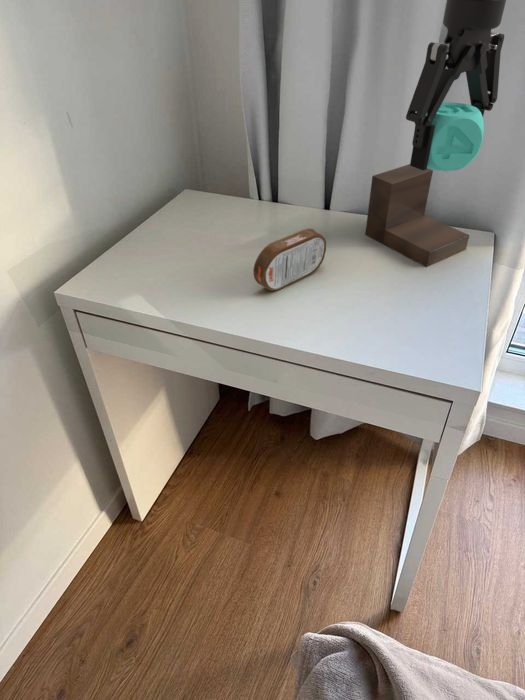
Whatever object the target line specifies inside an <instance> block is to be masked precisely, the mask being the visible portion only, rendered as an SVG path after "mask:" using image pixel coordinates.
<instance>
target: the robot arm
mask: <svg viewBox="0 0 525 700" xmlns="http://www.w3.org/2000/svg"><path fill="white" fill-rule="evenodd" d="M506 3H507V0H446V3H445V8H444V15H443V19H442V24H443V26H444V27H445V28H446V29H447V32H446V36H445V38H444V40H443V42H440V43H439V42H433V41H431V42H429V43H428V45H427V49H426V56H425V61H424V64H423V67H422V70H421V73H420V76H419V78H418V81H417V84H416V87H415V89H414V93H413V95H412V98H411V101H410V103H409V106H408V109H407V112H406V115H405V119H406V120H407V121H409V122H412V123H414V130H413V131H414V132H413V136H412V142H411V143H412V151H411V157H410V162H409V164H410V166H413V167H415V168H418V169H421V170H426V169H427V164H428V159H429V154H430V149H431V144H432V138H433V133H434V128H435V125H433V124H431V123H432V121H433V119H434V117H435V115H436V113H437V112H438V110H439V108H440V106H441V104H442V103H444V100H445V99H446V96H447V95H448V93H449V91H450V89H451V87H452V85H453V84H454V82H455V81H457V80H458V79H459V78H460V76H461V75H462V74H464V73H465V76H466V82H467V88H468V95H469V101H470V105H471V106H474V107H476V108H478V109H479V111H480V112H481V114H482V117H483V118H484V114H485V111H487V112H490V111H492V110H493V108H494V104H496V102H497V100H498V94H499V93H498V92H499V79H500V66H501V65H500V64H501V55H502V54H501V52H502V48H503V44H504V41H505V34H504V33H500V32H492V30H493V29H496V28H498V27H499V26H500V25H501V23H502V19H503V15H504V11H505V6H506ZM426 114H427V116H426Z"/></svg>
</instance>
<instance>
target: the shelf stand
mask: <svg viewBox="0 0 525 700" xmlns="http://www.w3.org/2000/svg"><path fill="white" fill-rule="evenodd" d="M433 173H434V170H433V169H429V168H427V169H426V170H421V169H418V168H415V167H413V166H410V163H409V164H406V165H403V166H399V167H396V168H393V169H390V170H387V171H384V172H380V173H377V174H373V175H372V177H371V185H370V191H369V192H370V193H369V200H368V209H367V218H366V225H365V232H364V233H365V235H366V236H367V237H369V238H371V239H373V240H375V241H377V242H379V244H380V243H381V244H383V245H385V246H386V247H388V248H390V249H392V250H394V251H396V252H398V253H399V254H401V255H403V256H405V257H407V258H409V259H411V260H413V261H415V262H416V263H418V264H420V265H422V266H424V267H426V268H428V267H430V266H433V265H434V264H437V263H439V262H441V261H443V260H445V259H448V258H450V257H452V256H454V255H457V254H459V253H461V252H463V251H465V250H467V247H468V244H469V239H470V234H468V233H467V232H464V231H462V230H459V229H457V228H455V227H453V226H450V225H448V224H446V223H443V222H441V221H439V220H437V219H435V218H432V217H430V216H427V215H425V213H426V207H427V203H428V197H429V193H430V188H431V182H432V177H433Z"/></svg>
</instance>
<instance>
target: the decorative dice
mask: <svg viewBox="0 0 525 700" xmlns="http://www.w3.org/2000/svg"><path fill="white" fill-rule="evenodd" d="M426 116H427V114H426ZM484 122H485V121H484V116H483V117H482V114H481V112H480V111H479V109H478V108H476V107H474V106H471V104H467V103H462V102H460V103H459V102H448V101H447V102H442V104H441V106H440V108H439V110H438V112H437V113H436V115H435V117H434V119H433V121H432V123H431V124H433V125H435V128H434V133H433V138H432V144H431V149H430V154H429V159H428V164H427V168H428V169H431V170H433V171H441V172H454V171H458V170H462V169H465V167H467V166H468V165H469V164H471V163H472V162H473V161H474V160H475V159H476V157H477V156H478V154H479V153H480V150H481V147H482V145H483V140H484V133H485V132H484V131H485V125H484V124H485V123H484Z"/></svg>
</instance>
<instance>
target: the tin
mask: <svg viewBox="0 0 525 700" xmlns="http://www.w3.org/2000/svg"><path fill="white" fill-rule="evenodd" d="M326 252H327V240H326V238H325V237H324V236H323V235H322V234H321V233H319V232H317V231H316V230H315V229H314V228H311V227H310V228H309V227H308V228H304V229H301V230H299V231H297V232H294V233H292V234H290V235H287V236H285V237H282V238H280V239H277V240H275V241H272V242H270V243H269V244H267V245H266V246H265V247H264V248H263V249H262V250H261V251H260V253H259V254H258V255H257V257H256V260H255V262H254V265H253V278H254V280H255V282H256V283H257V284H258V285H260V286H262V287H263V288H265V289H266V290H268V291H272V292H274V291H275V292H276V291H279V290H282V289H284V288H285V287H288V286H290V285H292V284H294V283H296V282H298V281H301V280H303V279H305V278H306V277H310V276H312V275H313V274H314V273H315V272H316V271H317V270H318V269H319V268H320V266H321V265H322V264H323V262H324V260H325V257H326V256H325V255H326Z"/></svg>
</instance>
